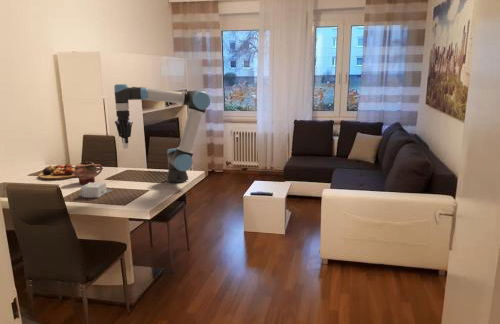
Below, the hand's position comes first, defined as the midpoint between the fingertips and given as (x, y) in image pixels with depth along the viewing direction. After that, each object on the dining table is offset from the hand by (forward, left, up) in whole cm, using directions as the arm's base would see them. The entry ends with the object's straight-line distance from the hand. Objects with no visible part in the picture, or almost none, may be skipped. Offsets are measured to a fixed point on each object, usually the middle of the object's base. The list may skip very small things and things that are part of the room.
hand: (125, 148), depth 236 cm
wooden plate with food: (+79, -10, -29) cm, 85 cm away
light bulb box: (+10, +13, -25) cm, 29 cm away
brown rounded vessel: (+43, -5, -29) cm, 52 cm away
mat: (+17, +11, -28) cm, 35 cm away
